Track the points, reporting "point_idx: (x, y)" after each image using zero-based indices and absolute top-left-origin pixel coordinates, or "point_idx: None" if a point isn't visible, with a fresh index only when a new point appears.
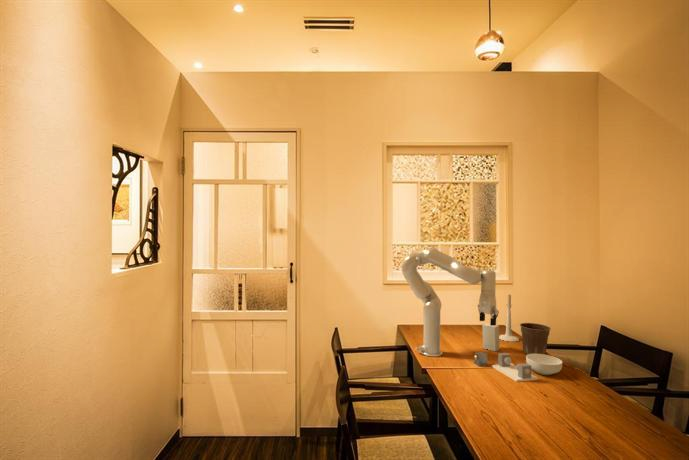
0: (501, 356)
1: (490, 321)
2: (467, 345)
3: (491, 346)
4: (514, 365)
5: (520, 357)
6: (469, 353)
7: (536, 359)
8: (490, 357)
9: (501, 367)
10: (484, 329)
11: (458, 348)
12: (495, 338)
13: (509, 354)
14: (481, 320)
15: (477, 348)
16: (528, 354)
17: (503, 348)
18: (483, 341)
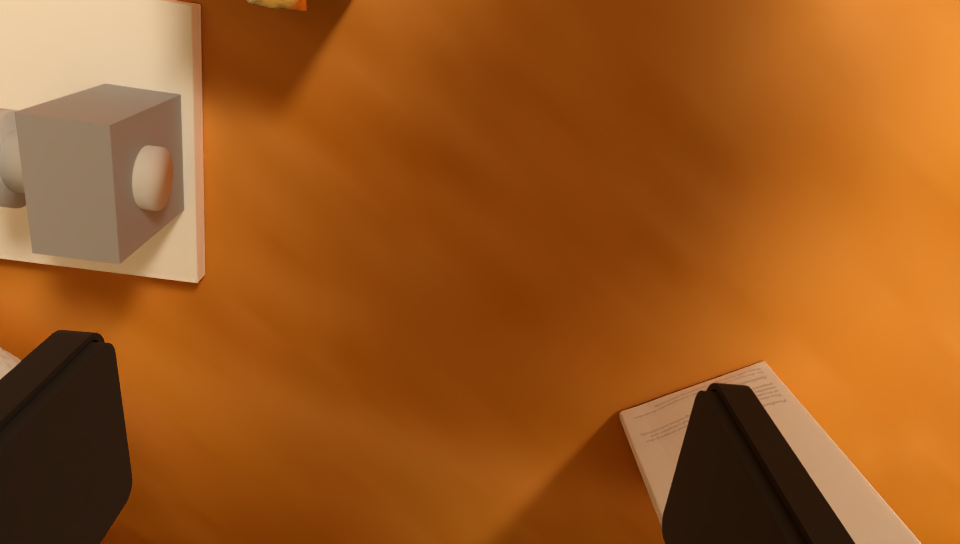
0: (34, 109)
1: (12, 407)
2: (950, 270)
3: (675, 423)
4: (124, 263)
5: (382, 505)
6: (715, 80)
7: None
8: (488, 231)
9: (80, 62)
10: (872, 541)
11: (943, 74)
12: (660, 521)
13: (42, 251)
14: (694, 429)
15: (801, 306)
16: None
17: (658, 540)
18: (795, 411)
